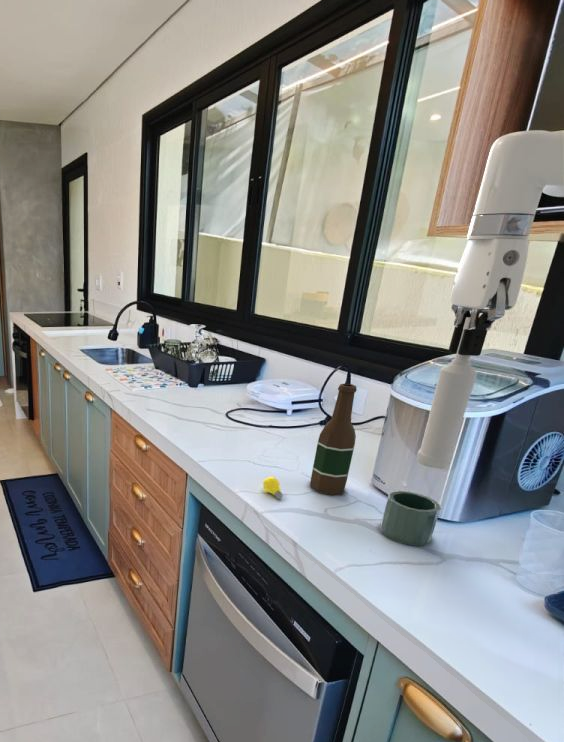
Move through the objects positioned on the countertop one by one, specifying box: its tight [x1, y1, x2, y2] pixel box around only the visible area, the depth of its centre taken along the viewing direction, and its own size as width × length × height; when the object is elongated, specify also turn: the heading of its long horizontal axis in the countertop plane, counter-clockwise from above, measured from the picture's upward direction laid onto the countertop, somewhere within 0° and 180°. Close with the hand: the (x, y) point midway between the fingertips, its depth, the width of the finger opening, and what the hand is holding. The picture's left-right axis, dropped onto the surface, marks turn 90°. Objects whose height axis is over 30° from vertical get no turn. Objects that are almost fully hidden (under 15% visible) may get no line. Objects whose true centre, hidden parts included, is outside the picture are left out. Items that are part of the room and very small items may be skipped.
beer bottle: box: [309, 383, 357, 496], centre depth 110 cm, size 8×8×24 cm
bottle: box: [416, 317, 478, 470], centre depth 84 cm, size 5×5×25 cm
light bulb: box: [262, 476, 284, 500], centre depth 110 cm, size 3×6×4 cm, turn 17°
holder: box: [380, 490, 441, 547], centre depth 95 cm, size 8×8×7 cm
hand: (464, 352), depth 82 cm, fingers closed on bottle, 2 cm apart
